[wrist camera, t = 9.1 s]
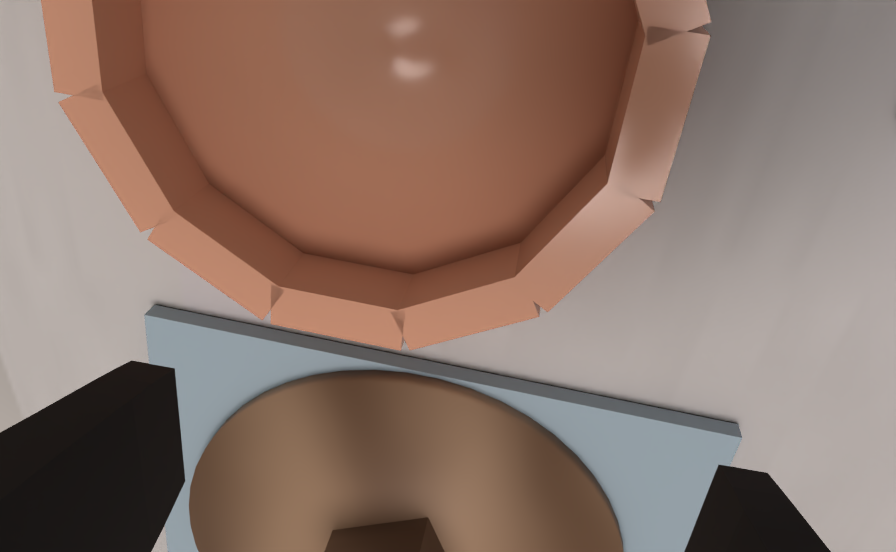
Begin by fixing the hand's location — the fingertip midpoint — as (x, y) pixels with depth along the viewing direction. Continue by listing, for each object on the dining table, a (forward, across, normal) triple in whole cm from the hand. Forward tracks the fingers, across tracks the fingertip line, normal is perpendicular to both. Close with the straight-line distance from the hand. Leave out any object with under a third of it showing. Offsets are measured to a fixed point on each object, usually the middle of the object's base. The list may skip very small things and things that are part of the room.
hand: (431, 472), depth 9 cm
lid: (+10, +1, +13) cm, 17 cm away
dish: (+10, +3, -3) cm, 11 cm away
